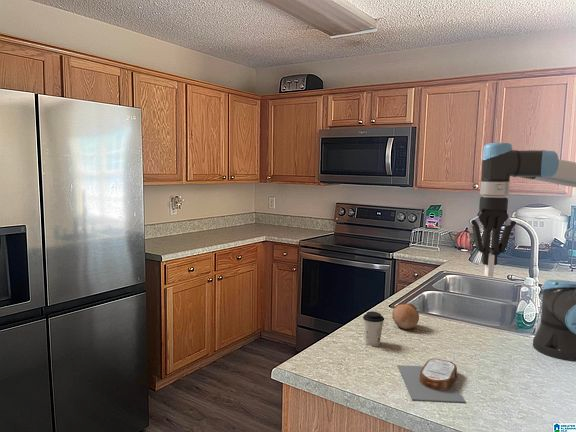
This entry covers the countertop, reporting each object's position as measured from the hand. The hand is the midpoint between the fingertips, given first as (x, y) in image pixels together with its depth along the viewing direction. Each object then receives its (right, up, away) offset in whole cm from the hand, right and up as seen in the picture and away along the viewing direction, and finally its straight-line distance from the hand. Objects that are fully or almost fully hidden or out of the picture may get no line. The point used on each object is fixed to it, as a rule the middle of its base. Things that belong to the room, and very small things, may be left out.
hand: (488, 275), depth 128 cm
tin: (-15, -26, -12) cm, 32 cm away
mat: (-22, -27, -12) cm, 37 cm away
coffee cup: (-32, -25, +15) cm, 43 cm away
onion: (-17, -23, +30) cm, 41 cm away
